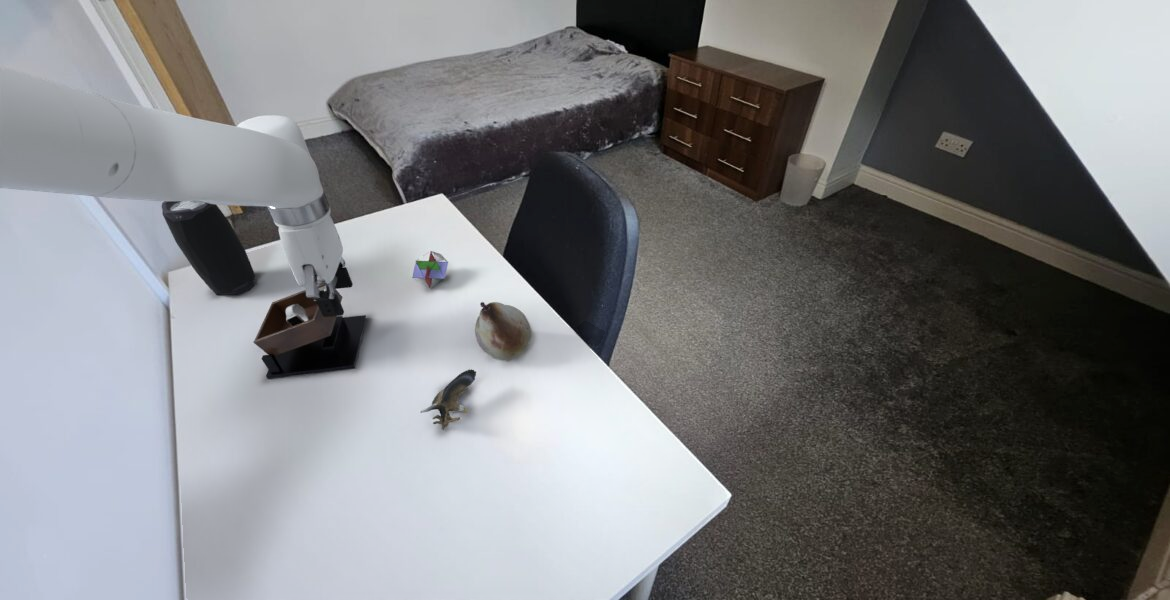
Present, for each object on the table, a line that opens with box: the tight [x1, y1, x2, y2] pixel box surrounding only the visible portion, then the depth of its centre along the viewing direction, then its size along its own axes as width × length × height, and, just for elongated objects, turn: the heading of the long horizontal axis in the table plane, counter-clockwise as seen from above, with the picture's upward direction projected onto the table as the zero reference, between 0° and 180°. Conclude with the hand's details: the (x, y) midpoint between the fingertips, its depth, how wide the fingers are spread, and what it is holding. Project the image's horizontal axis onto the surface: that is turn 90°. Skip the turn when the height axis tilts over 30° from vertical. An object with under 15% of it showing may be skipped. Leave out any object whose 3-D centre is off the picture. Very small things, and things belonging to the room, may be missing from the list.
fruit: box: [474, 301, 532, 362], centre depth 82 cm, size 10×9×12 cm
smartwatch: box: [286, 304, 308, 326], centre depth 80 cm, size 4×2×4 cm, turn 17°
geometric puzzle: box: [411, 250, 449, 290], centre depth 98 cm, size 7×7×8 cm
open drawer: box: [253, 276, 343, 356], centre depth 79 cm, size 14×10×6 cm
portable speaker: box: [161, 201, 256, 296], centre depth 91 cm, size 9×9×20 cm
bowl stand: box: [261, 314, 368, 380], centre depth 84 cm, size 14×13×5 cm
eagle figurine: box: [420, 368, 477, 431], centre depth 74 cm, size 8×7×9 cm
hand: (338, 299), depth 79 cm, fingers closed on open drawer, 6 cm apart
